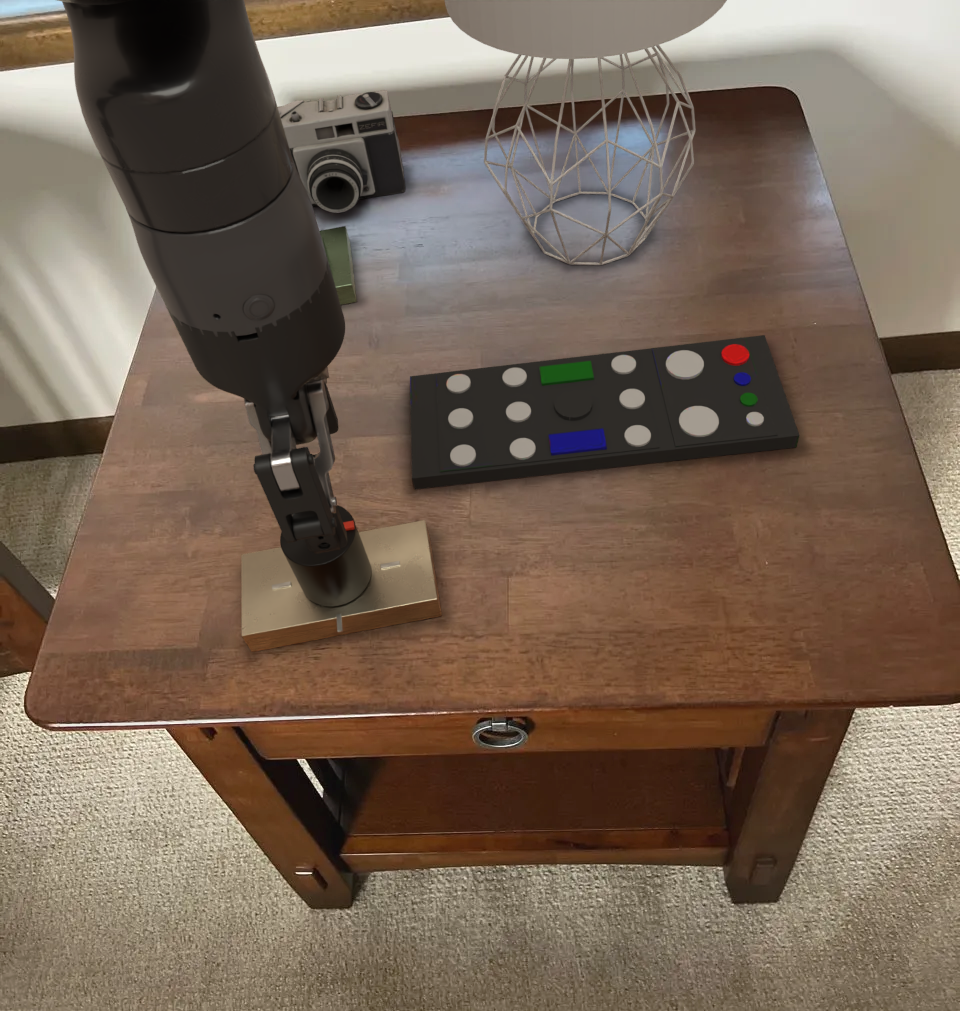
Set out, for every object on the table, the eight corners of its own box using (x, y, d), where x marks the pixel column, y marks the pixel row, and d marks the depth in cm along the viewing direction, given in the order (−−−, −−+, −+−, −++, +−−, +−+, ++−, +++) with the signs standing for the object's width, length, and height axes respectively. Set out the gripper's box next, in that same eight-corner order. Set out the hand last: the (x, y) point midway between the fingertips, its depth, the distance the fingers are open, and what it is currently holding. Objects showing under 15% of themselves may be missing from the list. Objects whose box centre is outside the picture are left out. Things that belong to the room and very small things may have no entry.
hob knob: (302, 613, 65) (279, 569, 60) (299, 552, 68) (277, 507, 63) (374, 599, 65) (357, 555, 60) (368, 539, 68) (351, 493, 63)
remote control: (796, 447, 72) (800, 430, 71) (414, 489, 74) (410, 474, 72) (762, 347, 79) (765, 330, 77) (412, 387, 80) (408, 372, 79)
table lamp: (457, 302, 86) (376, -218, 54) (493, 159, 99) (444, -330, 66) (702, 310, 82) (772, -245, 50) (706, 161, 95) (764, -359, 63)
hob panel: (252, 667, 66) (240, 650, 64) (251, 558, 71) (240, 540, 69) (444, 630, 66) (439, 612, 64) (428, 525, 71) (423, 505, 69)
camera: (269, 231, 95) (240, 142, 87) (283, 181, 101) (257, 93, 93) (401, 222, 94) (384, 131, 86) (408, 172, 99) (392, 82, 92)
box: (243, 323, 87) (229, 291, 84) (243, 263, 93) (230, 230, 90) (357, 302, 88) (347, 269, 84) (350, 243, 93) (341, 210, 90)
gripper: (168, 188, 45) (261, 409, 58) (149, 397, 37) (263, 600, 50) (318, 162, 45) (378, 388, 58) (334, 365, 37) (400, 576, 50)
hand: (325, 486), depth 54 cm, fingers open, 8 cm apart
